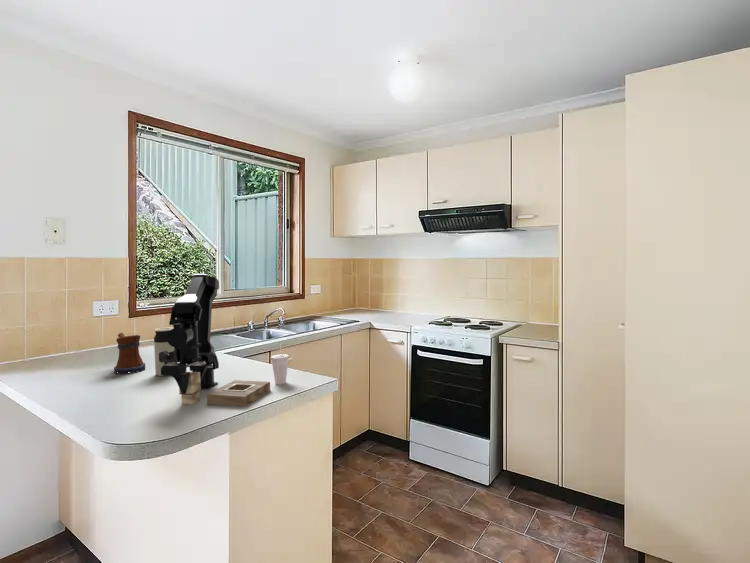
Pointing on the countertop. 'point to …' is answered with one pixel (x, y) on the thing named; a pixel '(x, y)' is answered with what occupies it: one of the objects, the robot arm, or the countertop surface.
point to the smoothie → (280, 367)
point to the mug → (128, 354)
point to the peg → (192, 389)
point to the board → (238, 393)
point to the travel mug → (161, 347)
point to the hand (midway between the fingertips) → (190, 390)
